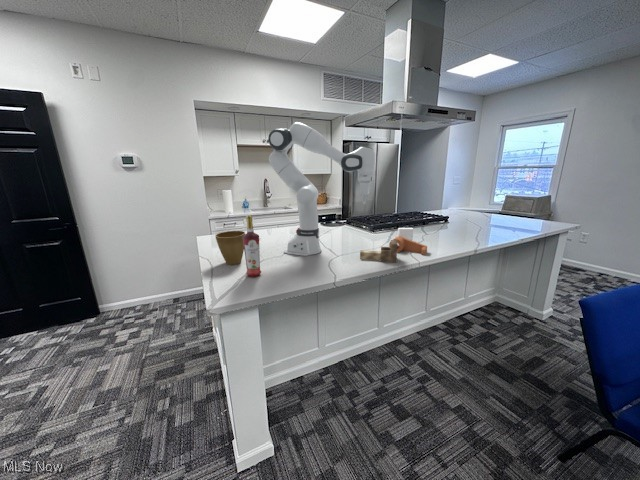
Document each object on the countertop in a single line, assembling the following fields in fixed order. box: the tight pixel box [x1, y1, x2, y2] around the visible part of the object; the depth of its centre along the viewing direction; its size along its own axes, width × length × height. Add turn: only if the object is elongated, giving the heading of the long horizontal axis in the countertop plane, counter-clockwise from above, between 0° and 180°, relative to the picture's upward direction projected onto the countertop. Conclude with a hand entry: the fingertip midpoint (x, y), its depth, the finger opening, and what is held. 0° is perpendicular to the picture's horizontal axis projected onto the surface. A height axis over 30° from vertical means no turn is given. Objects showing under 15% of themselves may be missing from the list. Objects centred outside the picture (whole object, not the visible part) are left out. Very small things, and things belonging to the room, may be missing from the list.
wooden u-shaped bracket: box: [380, 239, 398, 264], centre depth 140 cm, size 8×8×10 cm
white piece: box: [397, 227, 414, 246], centre depth 163 cm, size 9×9×12 cm
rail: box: [359, 249, 381, 261], centre depth 143 cm, size 15×4×4 cm, turn 77°
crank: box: [388, 235, 428, 256], centre depth 154 cm, size 20×8×8 cm, turn 58°
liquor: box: [242, 215, 262, 278], centre depth 120 cm, size 7×7×28 cm
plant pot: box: [215, 230, 246, 266], centre depth 139 cm, size 15×15×16 cm
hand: (364, 203), depth 148 cm, fingers open, 8 cm apart
